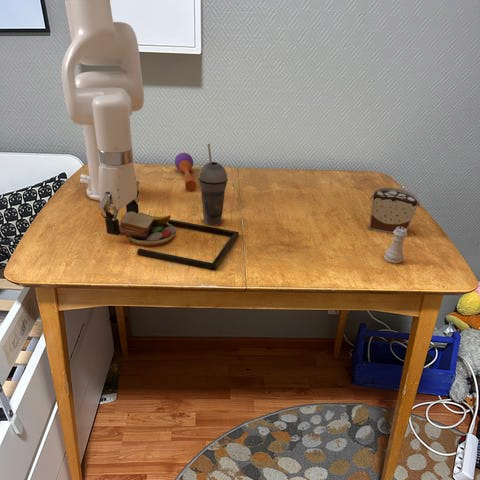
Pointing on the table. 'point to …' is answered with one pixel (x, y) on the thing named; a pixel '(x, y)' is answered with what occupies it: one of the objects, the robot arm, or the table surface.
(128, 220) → the toy sandwich meal
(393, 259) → the rook chess piece
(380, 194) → the food container
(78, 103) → the robot arm
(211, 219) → the beverage cup
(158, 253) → the frame
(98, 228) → the table surface
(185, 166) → the purple maraca
